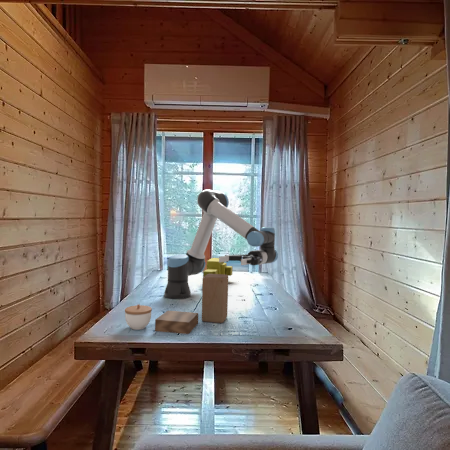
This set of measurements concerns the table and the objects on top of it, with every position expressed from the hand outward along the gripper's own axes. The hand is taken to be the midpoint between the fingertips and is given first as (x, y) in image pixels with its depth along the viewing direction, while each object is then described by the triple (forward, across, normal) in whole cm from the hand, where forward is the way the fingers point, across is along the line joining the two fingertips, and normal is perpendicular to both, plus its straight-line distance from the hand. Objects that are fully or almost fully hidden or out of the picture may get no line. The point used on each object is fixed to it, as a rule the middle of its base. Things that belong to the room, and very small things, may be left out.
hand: (230, 260), depth 161 cm
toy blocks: (-54, +56, -26) cm, 82 cm away
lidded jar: (+40, +15, -26) cm, 50 cm away
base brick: (+29, +4, -26) cm, 39 cm away
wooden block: (+10, 0, -26) cm, 28 cm away
